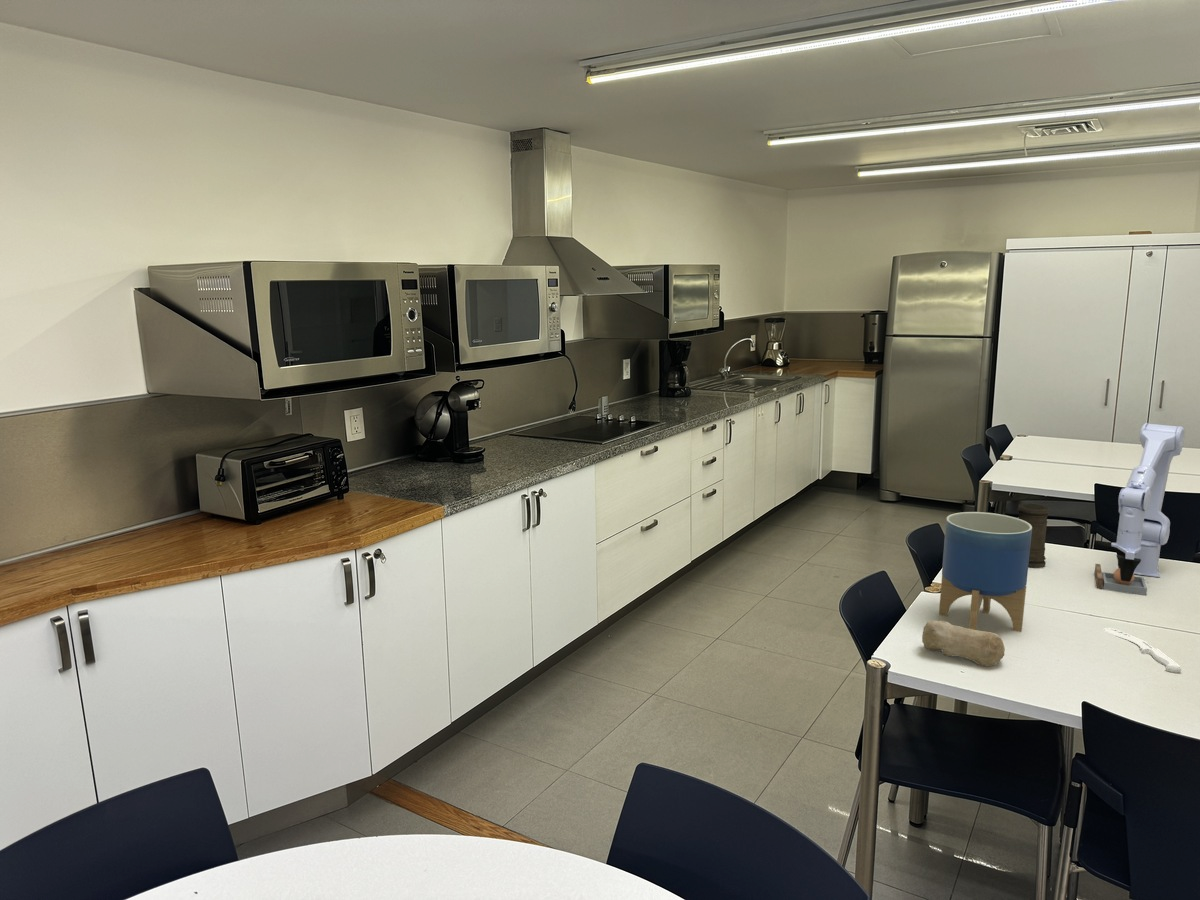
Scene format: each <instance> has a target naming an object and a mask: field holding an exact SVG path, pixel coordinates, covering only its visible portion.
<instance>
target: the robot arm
mask: <svg viewBox="0 0 1200 900" xmlns="http://www.w3.org/2000/svg"><path fill="white" fill-rule="evenodd" d="M1139 433H1140V434H1139V441H1140V445H1141V447H1142V448H1143V451H1142V454H1141V458H1140V461H1139V465H1138V466H1135V467H1133V469H1132V471H1131V474H1130V476H1129V479H1128V481H1127V483H1126V486H1125V487H1123V488H1121V489H1120V490H1119V491H1120V492H1119V495H1118V500H1117V501H1118V503H1117V504H1118V513H1119V520H1118V527H1117V535H1116V542H1111V544H1110V545H1111V547H1113V548H1114V550H1115V553H1116V558H1117V567H1118V568H1120V576H1121V580H1122V581H1128V582H1130V581H1131V578H1132V576H1133V573H1134V575H1140V576H1147V577H1154V578H1161V573H1160V572H1159V569H1158V568H1159V561H1160V554H1161V553H1160V552H1161V547H1162V546H1164V545H1166V544H1167V543H1168V540H1169V536H1170V533H1171V532H1170V531H1171V530H1170V527H1171V521H1170V519H1169V517H1168V516H1166V515H1165V514H1164V513H1163V512H1162V507H1163V502H1164V496H1165V492H1166V487H1167V482H1168V476H1169V471H1170V467H1171V463H1172V461H1173V458H1174V457H1176V456H1180V455H1181V453H1182V450H1183V446H1184V440H1185V433H1186V431H1185V429H1184V427H1183V426H1182V425H1181V426H1177V425H1176V426H1175V425H1165V424H1164V425H1163V424H1156V423H1149V422H1145V423H1144V424H1143V425H1142V426H1141V428H1140V432H1139ZM1154 521H1155V522H1154ZM1156 521H1157V522H1156ZM1118 568H1117V569H1118Z"/></svg>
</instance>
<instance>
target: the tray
mask: <svg viewBox="0 0 1200 900" xmlns="http://www.w3.org/2000/svg"><path fill="white" fill-rule="evenodd" d="M1113 574H1114V572H1113V573H1112V572H1105V571H1102V576H1103V584H1102V589H1103V590H1105V591H1110V592H1111V591H1112V592H1118V593H1125V594H1126V593H1127V594H1132V595H1133V594H1134V595H1140V596H1147V592H1148V590H1147V589H1148V588H1147V585H1146V581H1145V578H1144V577H1143V576H1137V575H1136V576H1135V575H1134V581H1133V582H1132V583H1131V584H1129V585H1122V584H1119V583H1117V582H1116V581H1115V579H1114V576H1113Z"/></svg>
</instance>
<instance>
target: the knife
mask: <svg viewBox="0 0 1200 900" xmlns="http://www.w3.org/2000/svg"><path fill="white" fill-rule="evenodd" d="M1107 628H1108V627H1104V628H1103V630H1104V629H1105V631H1104V632H1105V633H1108V634H1109V635H1112V636H1115V637H1118V638H1120V639H1124V640H1127V641H1129V642H1132V643H1133V644H1135V645H1137V646H1138V647H1139V648H1138V649H1139V650H1140V653H1141V654H1142V655H1150V656H1151V657H1152V658H1153V659H1154V661H1156V662H1158V663H1159V664H1161V665H1163V666H1165V670H1166V672H1170V673H1175V674H1179V673H1181V672H1182V668H1181V666H1180V665H1179V664H1178V662H1176V661H1175V660H1173V659H1172V658H1171V657H1169V656H1168V655H1166V654H1165V653H1164V652H1162V650H1160V649H1159V648H1157V647H1156V648H1155V647H1153V646H1152V645H1150V644H1149V642H1147V641H1146V640H1143V639H1141V638H1138V637H1136V636H1134V635H1131V634H1129V633H1127V632H1124V631H1122V630H1120V629H1117V628H1113V627H1111V628H1110V626H1109V628H1108V629H1107Z"/></svg>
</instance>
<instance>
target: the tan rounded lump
mask: <svg viewBox="0 0 1200 900" xmlns="http://www.w3.org/2000/svg"><path fill="white" fill-rule="evenodd" d="M922 630H923V631H922V635H921V642H922V644H923V647H924V648H925V649H926V650H928V651H932V652H939V651H940V652H941V651H942V652H941V653H942V654H943V655H944V656H948V657H954V656H956V657H961V658H965V659H967V660H970V661H973V662H974V663H975V664H977V665H979V666H981V667H990V666H991V667H992V666H994V665H997V663H1000V662H1001V660H1002V659H1003V658H1004V656H1005V650H1006V649H1005V645H1004V640H1003V639H1002V638H1001V637H1000V636H999V635H998V634H997V633H994V632H990V631H985V630H984V631H982V630H978V629H976V630H973V629H969V628H967V627H963V626H959V625H953V624H951V623H949V622H948V621H946V620H945V621H944V620H941V619H940V620H939V621H938V620H936V619H935V620H933V619H932V620H928V621H926V624H925V625H924V626H923V629H922Z"/></svg>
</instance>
